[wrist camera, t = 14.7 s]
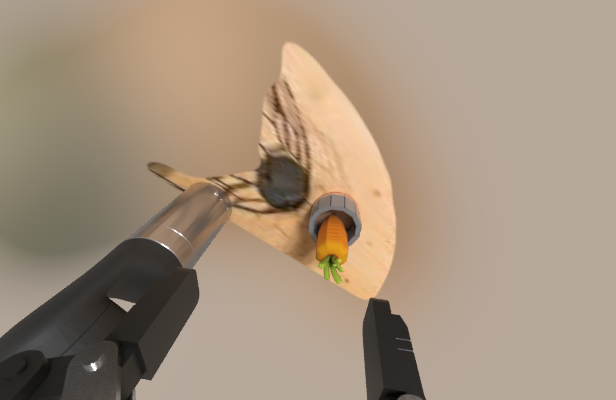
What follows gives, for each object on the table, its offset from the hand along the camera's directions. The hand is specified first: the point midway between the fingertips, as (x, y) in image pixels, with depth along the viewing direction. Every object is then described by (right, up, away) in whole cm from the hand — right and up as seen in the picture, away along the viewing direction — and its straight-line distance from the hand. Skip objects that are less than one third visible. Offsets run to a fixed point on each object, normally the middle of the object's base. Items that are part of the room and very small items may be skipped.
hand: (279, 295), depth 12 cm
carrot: (+6, +2, +35) cm, 36 cm away
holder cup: (+6, +2, +36) cm, 36 cm away
